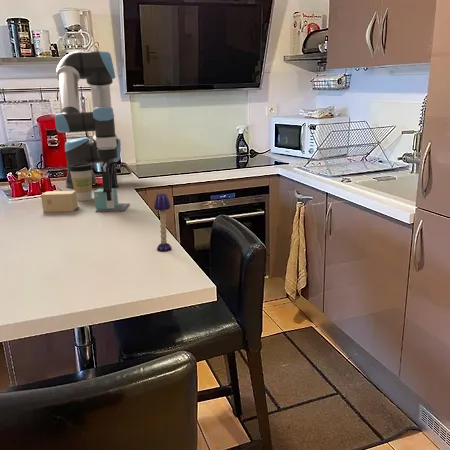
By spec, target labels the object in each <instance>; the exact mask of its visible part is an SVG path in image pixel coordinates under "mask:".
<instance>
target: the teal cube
mask: <svg viewBox="0 0 450 450" xmlns="http://www.w3.org/2000/svg"><path fill="white" fill-rule="evenodd" d="M107 189H108V188H107ZM112 192H113V199H114V208H115V207H116V205H117V201H116V191H115V188H112ZM93 195H94V207H95V210H97V209H107V203H106V193H105V192H104V193H103V188H97V189H96V190H94V191H93ZM114 208H108V209H114Z"/></svg>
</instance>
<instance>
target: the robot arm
mask: <svg viewBox="0 0 450 450" xmlns="http://www.w3.org/2000/svg"><path fill="white" fill-rule="evenodd" d="M114 67H115V66H114V64H113V58H112V54H111V53H110V52H109V51H100V50H95V51H94V50H93V51H73V52H70V53H68V54H66V55H65V56H63V58H62V59H60V61H59V63H58V65H57V66H56V71H55V72H56V79H57V80H58V85H59V106H60V107H59V108H60V110H59V112H57V113H55V114H54V123H55V129H56V132H58V133H61V134H62V133H65V134H66V133H67V134H69V133H70V134H71V133H83V132H84V133H85V132H87V133H89V132H94V133H95V134H94V135H93V136H92V139H90V138H89V137H79V138H74V139H69V140H66V142H64V152H65V160H66V167H67V173H66V174H67V175H66V179H65V187H66V188H69V189H70V188H72V189H74V187H73V183H72V179H71V173H70V171H69V169H70V166H71V165H75V164H90V165H91V167H92V168H93V166H92V164H102V165H101V166H100V170H101V177H102V189H103V193H104V192H105V193H106V203H107V209H108V208H114V199H113V192H112V188H115V191H116V201H117V204H119V199H118V198H119V197H118V189H117V188H120V187H119V183H118V182H119V181H118V175H117V164H116V163H117V162H119V161H120V159H121V149H122V148H121V138H118V136H117V134H116V126H115V125H116V123H115V114H114V108H113V107H112V100H111V99H112V97H111V88H110V87H111V85H112V84H113V80H114V79H116V74H115V72H116V71H115V68H114ZM80 80H86V84H87V85H88V86H90V93H91V101H92V102H91V103H92V111H86V112H81V109H80V106H81V105H80V93H79V83H78V82H79V81H80ZM95 183H97V184H98V180H97V177H96V175H95V173H94V170H93V169H92V185H93V184H95ZM107 188H108V189H107Z"/></svg>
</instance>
